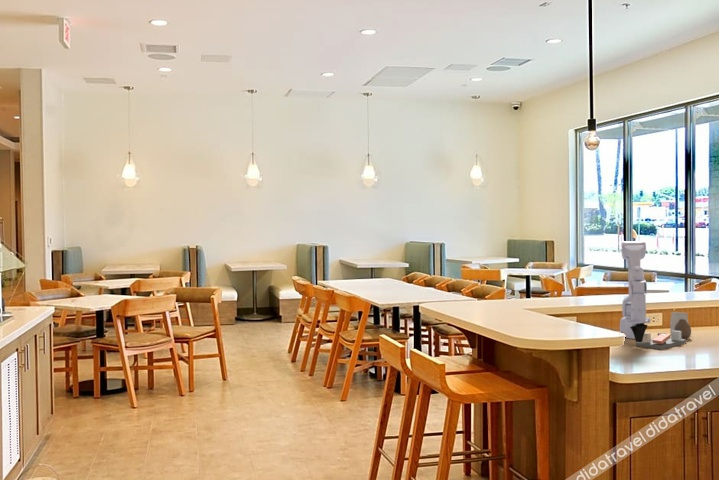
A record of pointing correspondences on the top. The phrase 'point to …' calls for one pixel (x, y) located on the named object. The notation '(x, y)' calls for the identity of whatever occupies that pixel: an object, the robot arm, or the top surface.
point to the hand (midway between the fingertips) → (638, 341)
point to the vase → (683, 328)
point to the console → (661, 346)
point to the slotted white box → (676, 335)
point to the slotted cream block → (646, 337)
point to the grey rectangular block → (677, 319)
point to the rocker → (661, 338)
